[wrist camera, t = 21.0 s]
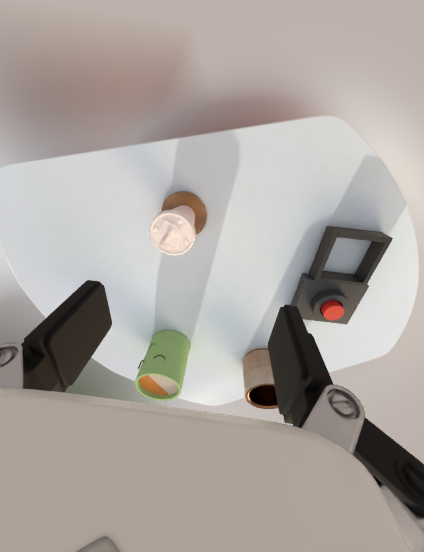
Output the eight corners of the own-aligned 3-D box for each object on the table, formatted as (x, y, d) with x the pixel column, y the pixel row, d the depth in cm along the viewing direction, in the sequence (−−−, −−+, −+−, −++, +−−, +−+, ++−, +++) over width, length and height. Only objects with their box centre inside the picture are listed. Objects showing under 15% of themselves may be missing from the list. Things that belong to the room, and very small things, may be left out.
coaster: (161, 189, 36) (160, 189, 36) (208, 194, 36) (208, 194, 35) (163, 233, 40) (162, 234, 40) (205, 238, 40) (204, 239, 40)
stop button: (324, 299, 41) (328, 304, 39) (343, 301, 41) (347, 307, 39) (318, 313, 43) (321, 319, 41) (335, 315, 43) (339, 321, 41)
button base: (302, 273, 42) (308, 284, 39) (362, 279, 42) (374, 291, 39) (288, 311, 48) (293, 323, 44) (342, 317, 47) (351, 330, 44)
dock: (326, 226, 37) (334, 231, 35) (381, 232, 37) (393, 238, 34) (308, 272, 42) (314, 280, 40) (357, 278, 42) (365, 286, 39)
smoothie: (194, 191, 35) (176, 213, 23) (207, 227, 38) (197, 263, 26) (160, 204, 37) (127, 231, 25) (175, 237, 40) (152, 275, 28)
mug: (175, 324, 52) (161, 367, 42) (197, 350, 57) (189, 395, 46) (136, 339, 56) (115, 381, 46) (159, 362, 60) (145, 406, 50)
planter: (278, 375, 60) (286, 411, 51) (239, 371, 60) (241, 406, 52) (288, 349, 54) (298, 385, 46) (245, 345, 54) (248, 380, 46)
